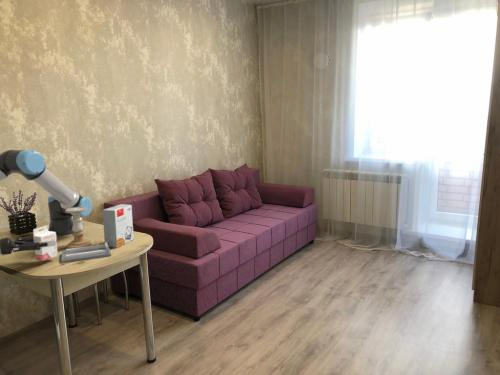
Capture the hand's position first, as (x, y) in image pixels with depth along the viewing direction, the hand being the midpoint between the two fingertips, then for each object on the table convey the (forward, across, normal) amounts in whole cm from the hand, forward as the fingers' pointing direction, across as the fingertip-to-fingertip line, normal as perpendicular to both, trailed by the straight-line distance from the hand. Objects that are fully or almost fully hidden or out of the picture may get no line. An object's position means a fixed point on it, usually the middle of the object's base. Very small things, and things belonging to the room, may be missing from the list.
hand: (56, 239), depth 189 cm
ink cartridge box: (-5, 0, -8) cm, 9 cm away
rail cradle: (+13, -2, -10) cm, 16 cm away
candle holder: (+10, -19, -11) cm, 24 cm away
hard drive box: (+30, -14, -11) cm, 35 cm away
